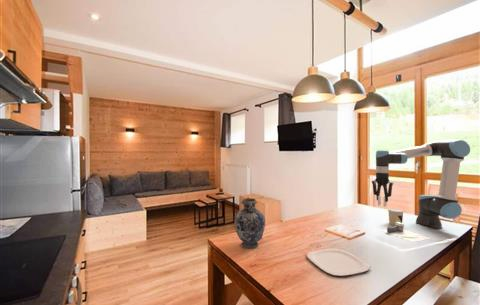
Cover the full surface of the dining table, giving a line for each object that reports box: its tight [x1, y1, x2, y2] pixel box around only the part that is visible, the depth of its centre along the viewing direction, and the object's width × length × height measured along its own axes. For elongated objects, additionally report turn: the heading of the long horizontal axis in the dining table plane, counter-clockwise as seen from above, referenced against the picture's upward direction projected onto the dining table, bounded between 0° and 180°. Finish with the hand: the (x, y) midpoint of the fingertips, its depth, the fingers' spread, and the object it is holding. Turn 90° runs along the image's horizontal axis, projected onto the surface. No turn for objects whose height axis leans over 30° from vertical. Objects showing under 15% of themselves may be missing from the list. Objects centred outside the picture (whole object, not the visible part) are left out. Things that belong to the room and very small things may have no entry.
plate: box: [306, 248, 371, 277], centre depth 115 cm, size 25×25×2 cm
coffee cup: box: [387, 208, 404, 226], centre depth 169 cm, size 9×9×12 cm
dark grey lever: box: [386, 222, 405, 234], centre depth 153 cm, size 13×5×5 cm, turn 109°
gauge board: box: [379, 228, 431, 243], centre depth 149 cm, size 18×22×2 cm
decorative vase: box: [234, 196, 266, 250], centre depth 137 cm, size 21×19×28 cm
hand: (382, 205), depth 156 cm, fingers open, 3 cm apart
